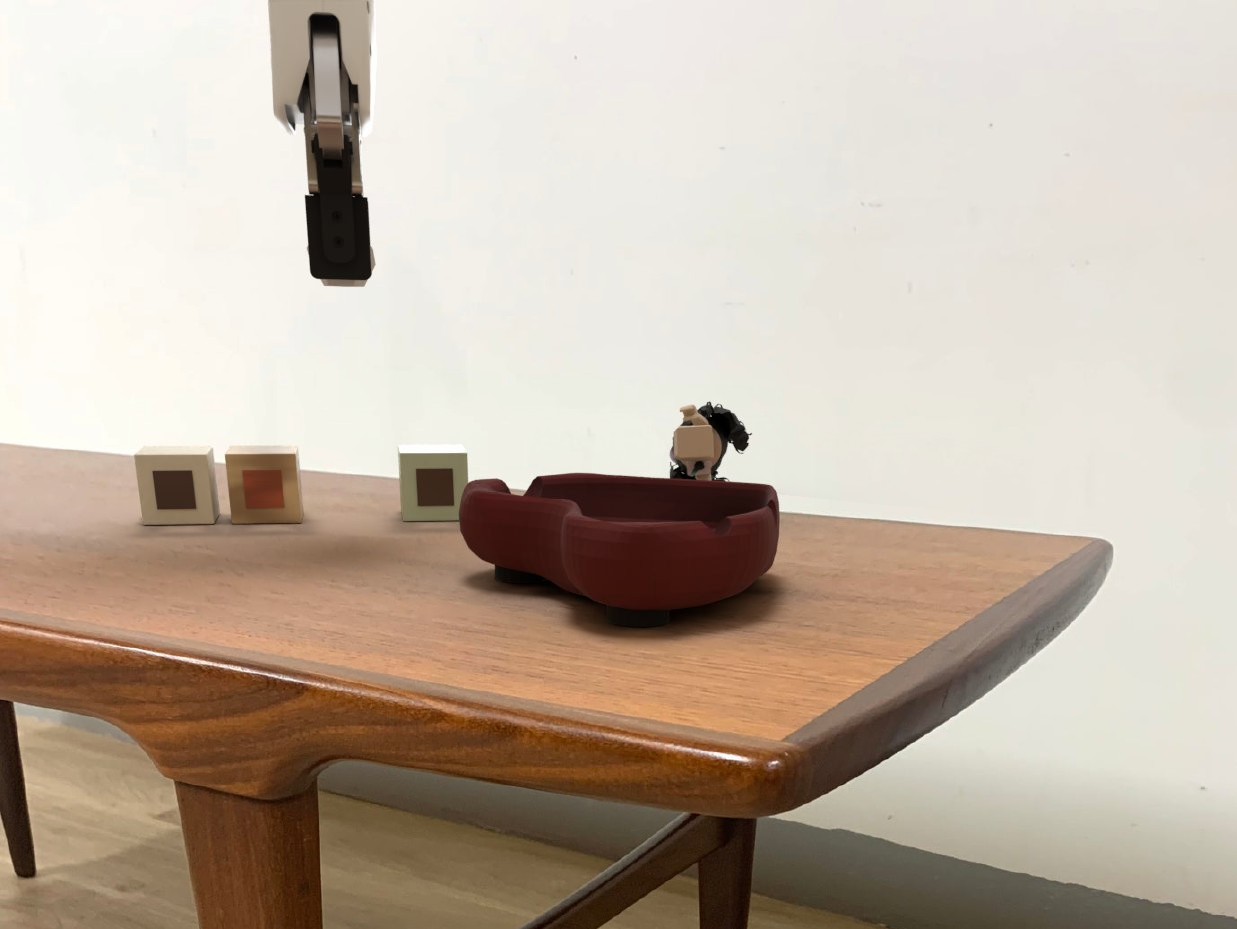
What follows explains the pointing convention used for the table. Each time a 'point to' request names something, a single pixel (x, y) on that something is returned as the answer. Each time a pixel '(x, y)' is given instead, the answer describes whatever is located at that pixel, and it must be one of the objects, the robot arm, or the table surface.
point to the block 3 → (432, 481)
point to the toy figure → (705, 441)
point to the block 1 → (177, 485)
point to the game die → (349, 282)
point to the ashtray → (626, 538)
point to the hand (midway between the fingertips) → (342, 275)
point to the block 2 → (264, 484)
